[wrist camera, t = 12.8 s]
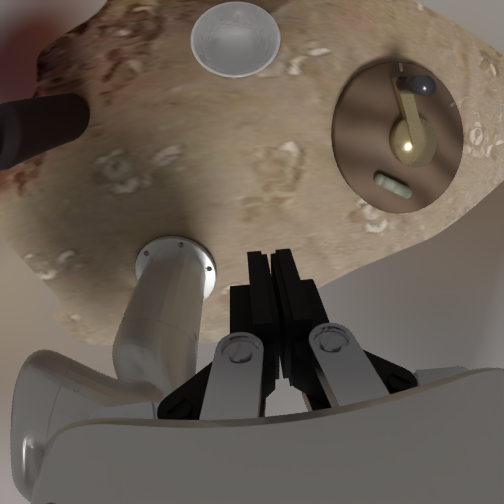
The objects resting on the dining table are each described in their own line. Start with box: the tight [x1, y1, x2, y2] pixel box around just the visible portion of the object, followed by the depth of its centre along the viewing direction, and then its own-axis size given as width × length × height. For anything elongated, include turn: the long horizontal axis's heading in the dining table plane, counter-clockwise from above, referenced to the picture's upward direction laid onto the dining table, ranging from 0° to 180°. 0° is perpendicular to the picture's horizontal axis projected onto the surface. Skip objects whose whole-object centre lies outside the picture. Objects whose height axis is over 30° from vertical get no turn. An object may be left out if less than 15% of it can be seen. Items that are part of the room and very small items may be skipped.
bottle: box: [0, 94, 89, 171], centre depth 21 cm, size 7×7×20 cm
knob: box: [390, 75, 436, 168], centre depth 28 cm, size 13×7×7 cm, turn 22°
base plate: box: [331, 62, 463, 213], centre depth 33 cm, size 22×22×4 cm
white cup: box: [191, 1, 280, 79], centre depth 24 cm, size 8×8×10 cm
